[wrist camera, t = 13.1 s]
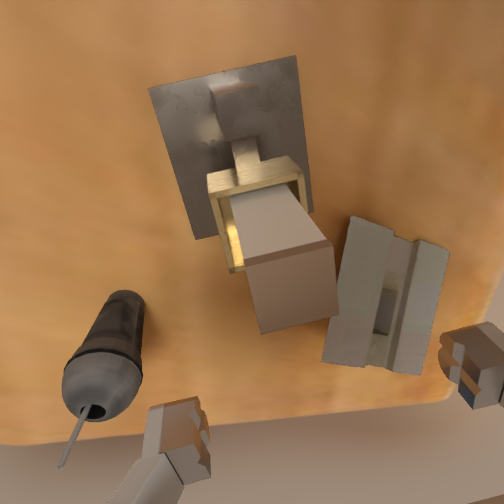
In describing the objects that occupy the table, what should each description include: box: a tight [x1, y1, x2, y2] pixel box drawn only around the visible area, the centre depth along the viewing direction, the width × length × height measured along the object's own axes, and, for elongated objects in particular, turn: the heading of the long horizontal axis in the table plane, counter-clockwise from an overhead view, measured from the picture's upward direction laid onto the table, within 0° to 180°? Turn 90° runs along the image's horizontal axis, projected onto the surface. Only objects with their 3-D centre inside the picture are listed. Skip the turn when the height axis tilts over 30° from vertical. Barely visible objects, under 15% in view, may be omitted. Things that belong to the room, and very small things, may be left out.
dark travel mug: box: [57, 290, 144, 469], centre depth 34 cm, size 7×7×20 cm
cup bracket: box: [148, 55, 314, 274], centre depth 30 cm, size 14×16×13 cm
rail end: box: [229, 183, 339, 334], centre depth 24 cm, size 5×5×13 cm
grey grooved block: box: [321, 215, 450, 376], centre depth 44 cm, size 19×10×17 cm
